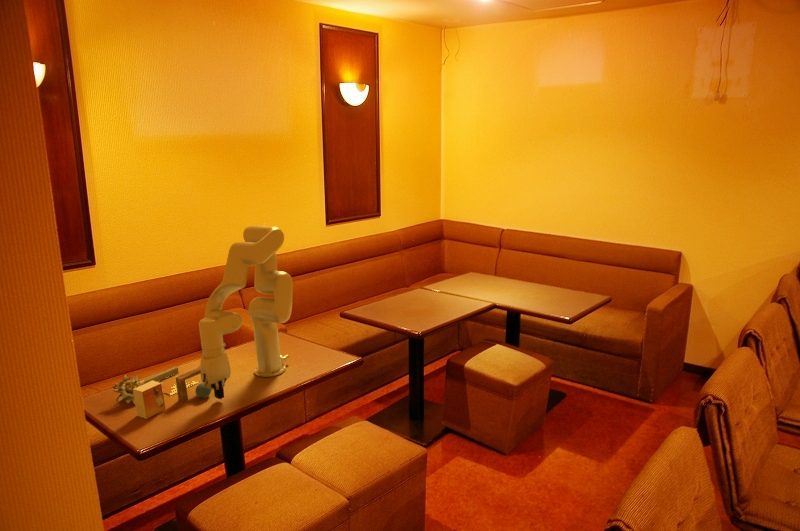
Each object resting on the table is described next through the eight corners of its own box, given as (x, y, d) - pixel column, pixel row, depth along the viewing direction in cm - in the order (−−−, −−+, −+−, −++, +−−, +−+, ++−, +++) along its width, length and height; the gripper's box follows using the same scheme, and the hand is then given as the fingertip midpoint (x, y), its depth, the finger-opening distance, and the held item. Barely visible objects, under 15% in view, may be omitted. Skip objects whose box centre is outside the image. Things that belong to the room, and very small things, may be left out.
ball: (209, 378, 211) (216, 391, 211) (201, 384, 214) (208, 396, 213) (198, 383, 206) (205, 396, 206) (190, 389, 209) (197, 402, 208)
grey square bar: (175, 372, 234) (174, 366, 233) (178, 373, 233) (177, 367, 232) (140, 387, 221) (139, 381, 220) (143, 388, 220) (142, 382, 219)
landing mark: (179, 375, 230) (179, 375, 230) (199, 382, 223) (199, 382, 223) (150, 388, 220) (150, 388, 220) (170, 395, 213) (170, 395, 212)
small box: (146, 419, 196) (141, 392, 193) (136, 416, 198) (131, 388, 196) (166, 409, 202) (162, 382, 200) (156, 406, 205) (152, 379, 202)
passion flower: (137, 416, 209) (117, 402, 200) (120, 404, 215) (101, 390, 206) (159, 392, 214) (141, 376, 206) (142, 381, 220) (124, 365, 211)
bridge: (178, 400, 209) (175, 377, 206) (210, 384, 220) (207, 363, 218) (183, 402, 207) (180, 379, 205) (215, 386, 219) (212, 364, 216)
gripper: (223, 342, 210) (229, 387, 214) (189, 356, 198) (196, 403, 202) (236, 345, 206) (242, 391, 210) (202, 360, 194) (209, 408, 198)
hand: (219, 397), depth 206 cm, fingers closed
